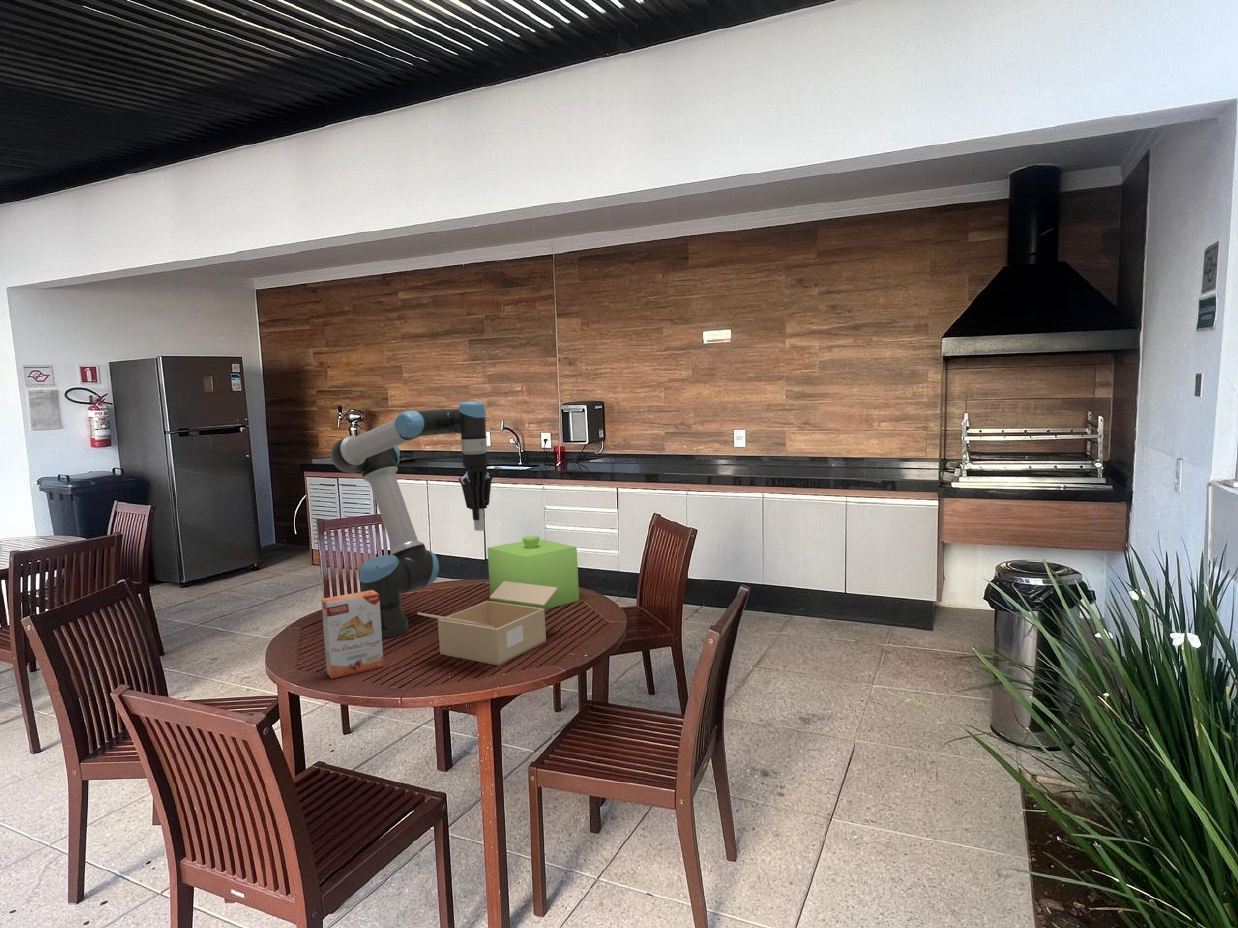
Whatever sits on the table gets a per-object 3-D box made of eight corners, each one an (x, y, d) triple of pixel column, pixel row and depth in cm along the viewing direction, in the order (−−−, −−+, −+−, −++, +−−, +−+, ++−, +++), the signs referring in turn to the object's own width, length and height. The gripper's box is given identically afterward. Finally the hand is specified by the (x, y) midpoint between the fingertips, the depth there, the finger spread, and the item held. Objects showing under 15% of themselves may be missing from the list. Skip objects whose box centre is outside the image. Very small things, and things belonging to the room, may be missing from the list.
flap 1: (437, 618, 209) (417, 614, 202) (437, 616, 209) (417, 612, 203) (493, 627, 198) (474, 623, 191) (494, 626, 198) (475, 621, 192)
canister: (490, 600, 266) (486, 537, 264) (539, 588, 279) (536, 528, 277) (528, 614, 247) (524, 546, 245) (579, 600, 260) (576, 536, 258)
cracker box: (331, 680, 194) (325, 602, 192) (326, 673, 199) (320, 597, 197) (385, 667, 202) (379, 592, 200) (378, 661, 207) (373, 588, 205)
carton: (440, 653, 211) (437, 619, 210) (489, 632, 228) (487, 600, 228) (499, 665, 199) (497, 629, 198) (546, 642, 217) (544, 608, 216)
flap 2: (489, 597, 228) (503, 581, 233) (489, 598, 228) (504, 582, 234) (543, 604, 217) (557, 587, 223) (544, 606, 217) (558, 588, 223)
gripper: (469, 454, 215) (474, 534, 217) (498, 451, 226) (503, 527, 228) (450, 454, 219) (455, 533, 221) (480, 451, 230) (484, 525, 232)
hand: (479, 530), depth 224 cm, fingers closed
